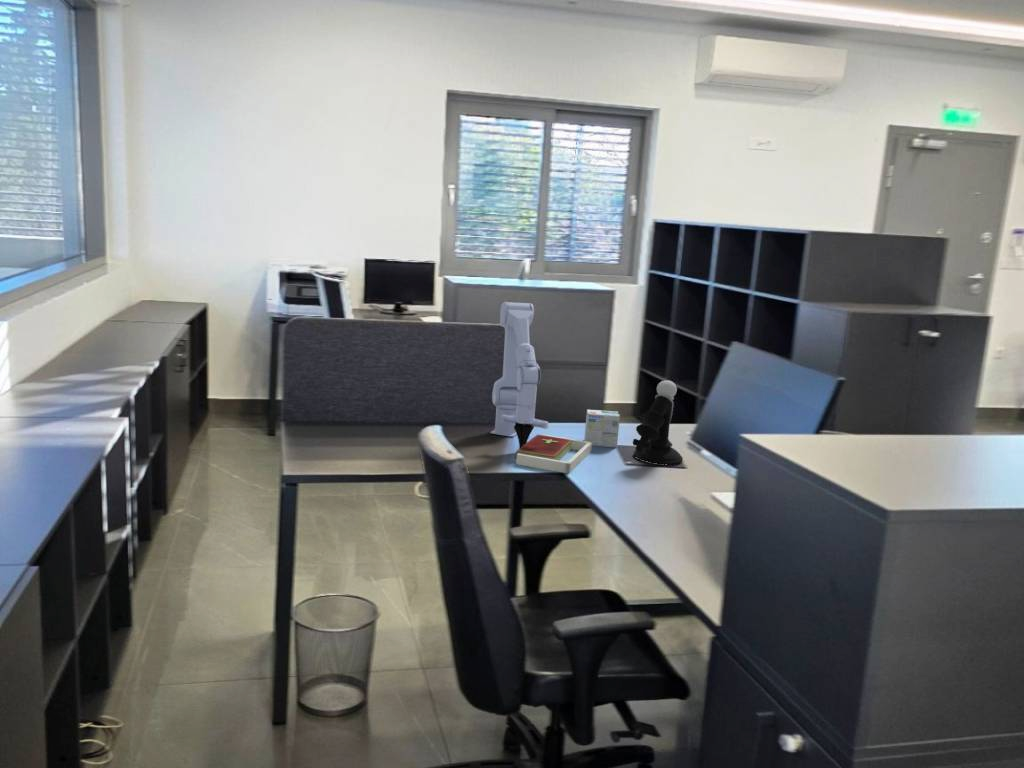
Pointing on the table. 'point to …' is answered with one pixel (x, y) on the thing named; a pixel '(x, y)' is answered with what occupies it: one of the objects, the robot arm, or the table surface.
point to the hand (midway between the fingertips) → (522, 447)
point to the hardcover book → (546, 447)
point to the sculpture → (658, 429)
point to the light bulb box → (602, 428)
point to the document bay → (557, 465)
